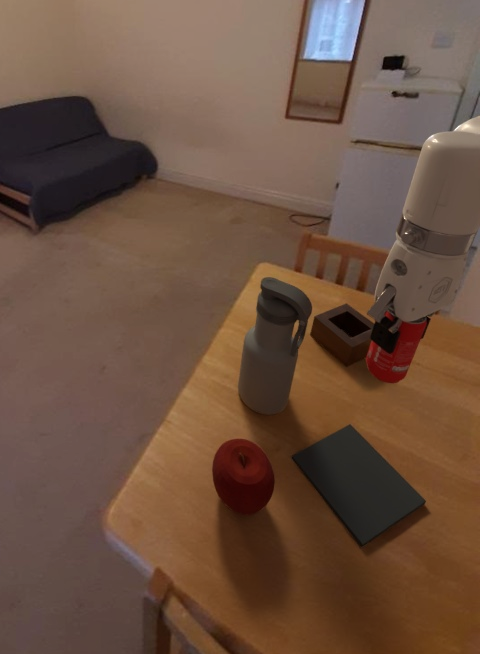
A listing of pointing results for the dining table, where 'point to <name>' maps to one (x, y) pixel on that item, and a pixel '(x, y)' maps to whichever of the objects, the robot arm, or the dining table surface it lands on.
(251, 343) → the water bottle
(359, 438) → the mat
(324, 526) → the dining table surface
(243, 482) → the apple
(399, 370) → the beverage can
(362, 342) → the holder
